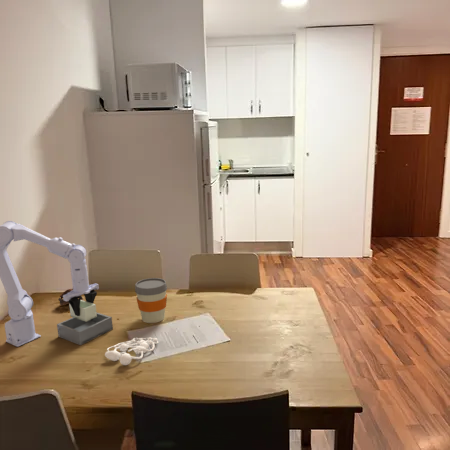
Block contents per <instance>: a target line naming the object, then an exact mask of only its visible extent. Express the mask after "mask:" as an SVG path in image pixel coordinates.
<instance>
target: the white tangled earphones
mask: <svg viewBox="0 0 450 450" xmlns="http://www.w3.org/2000/svg"><path fill="white" fill-rule="evenodd" d="M157 344H159V341H158V337H144V338H142V337H133V338H132V339H131V340H127V341H123V342H119V343H117V344H115V345H112V346H110V347H107V348H106V351H105V352H104V357H105V358H107V359H108V360H110V361H113V362H116V361H119V362H120V364H121V365H122V366H127V365H130V363H131V362H132V360H140V359H142V358H143V357H144V354H145V353H147V352H153V351H154V350H155V347H156V346H155V345H157ZM149 346H152V348H151V349H149V348H150V347H149ZM113 348H114V349H113ZM110 349H113V350H110ZM117 350H119V351H120V352H119V351H117ZM132 351H134V353H135V354H136V355H139V356H132V355H131V354H130V352H132ZM127 352H128V353H127Z"/></svg>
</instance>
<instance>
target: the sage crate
mask: <svg viewBox="0 0 450 450" xmlns="http://www.w3.org/2000/svg"><path fill="white" fill-rule="evenodd" d="M68 306H69V312H70V313H69V314H70V318H73V317H74V318H77V319H79V320H82V321H85V322H87V321H89V320H91V319H93V318H95V317H97V313H98V312H97V305H96V304H95V303H90V302H86V300H84V299H83V300H81V301H80V316H76V315H75V313H74V311H73V308H72V307H71V305H70V304H68ZM96 312H97V313H96Z"/></svg>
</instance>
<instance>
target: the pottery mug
mask: <svg viewBox="0 0 450 450" xmlns="http://www.w3.org/2000/svg"><path fill="white" fill-rule="evenodd" d="M72 290H73V288H67V289H66V290H64V291H63V292H62V293H60V296H59V298H58V301H59V305H60V306H62V305H63V306H65V305H67V304H68V305H69V302H68V301H64V300H63V295H65V294H67V293H69V292H70V291H72ZM77 298H78V299H80V300H83V301H84V298H83V297H82V295H80V296H77Z"/></svg>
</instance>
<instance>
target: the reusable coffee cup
mask: <svg viewBox="0 0 450 450" xmlns="http://www.w3.org/2000/svg"><path fill="white" fill-rule="evenodd" d="M134 286H135V287H134V291H135V294H136V304H137V307H138V310H139V311H140V316H141V319H142V320H141V321H142V322H144V323H148V324H155V323H159V322H161V321H163V320H165V316H166V314H165V313H166V307H167V300H168V299H167V297H168V295H167V290H168V287H167V281H166V280H165V279H164V278H160V277H151V278H150V277H149V278H143V279H141V280H138V281H137V282H136V283H135V285H134Z"/></svg>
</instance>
